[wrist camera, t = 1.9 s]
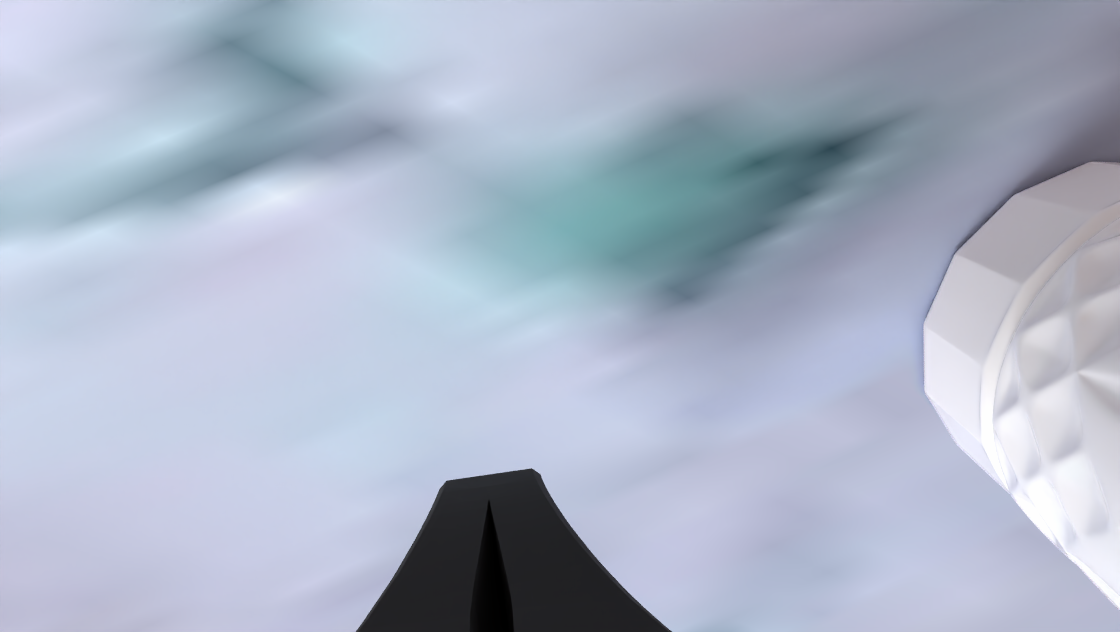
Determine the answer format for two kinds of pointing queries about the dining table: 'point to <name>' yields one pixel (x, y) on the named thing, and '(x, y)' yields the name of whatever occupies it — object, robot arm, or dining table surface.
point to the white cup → (1041, 360)
